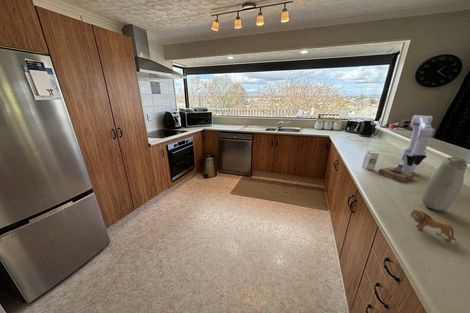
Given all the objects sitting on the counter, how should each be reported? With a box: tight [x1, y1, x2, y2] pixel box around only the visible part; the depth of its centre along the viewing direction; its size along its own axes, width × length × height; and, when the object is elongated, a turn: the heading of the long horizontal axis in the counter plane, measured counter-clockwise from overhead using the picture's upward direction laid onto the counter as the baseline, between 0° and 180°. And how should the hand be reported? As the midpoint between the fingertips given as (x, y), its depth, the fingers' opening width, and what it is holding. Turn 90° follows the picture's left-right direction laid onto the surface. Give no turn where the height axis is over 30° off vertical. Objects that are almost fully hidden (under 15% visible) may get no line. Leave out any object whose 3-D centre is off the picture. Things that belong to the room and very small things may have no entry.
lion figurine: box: [410, 208, 457, 243], centre depth 71 cm, size 15×5×9 cm, turn 52°
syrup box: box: [361, 150, 380, 171], centre depth 135 cm, size 6×6×14 cm
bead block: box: [377, 166, 415, 183], centre depth 124 cm, size 14×14×4 cm
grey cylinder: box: [393, 163, 403, 174], centre depth 123 cm, size 4×4×9 cm
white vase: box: [421, 156, 468, 211], centre depth 84 cm, size 10×10×28 cm
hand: (412, 165), depth 118 cm, fingers open, 7 cm apart
